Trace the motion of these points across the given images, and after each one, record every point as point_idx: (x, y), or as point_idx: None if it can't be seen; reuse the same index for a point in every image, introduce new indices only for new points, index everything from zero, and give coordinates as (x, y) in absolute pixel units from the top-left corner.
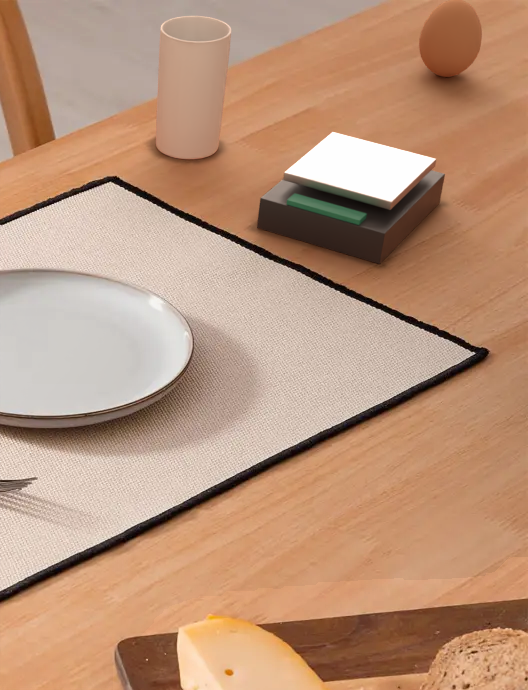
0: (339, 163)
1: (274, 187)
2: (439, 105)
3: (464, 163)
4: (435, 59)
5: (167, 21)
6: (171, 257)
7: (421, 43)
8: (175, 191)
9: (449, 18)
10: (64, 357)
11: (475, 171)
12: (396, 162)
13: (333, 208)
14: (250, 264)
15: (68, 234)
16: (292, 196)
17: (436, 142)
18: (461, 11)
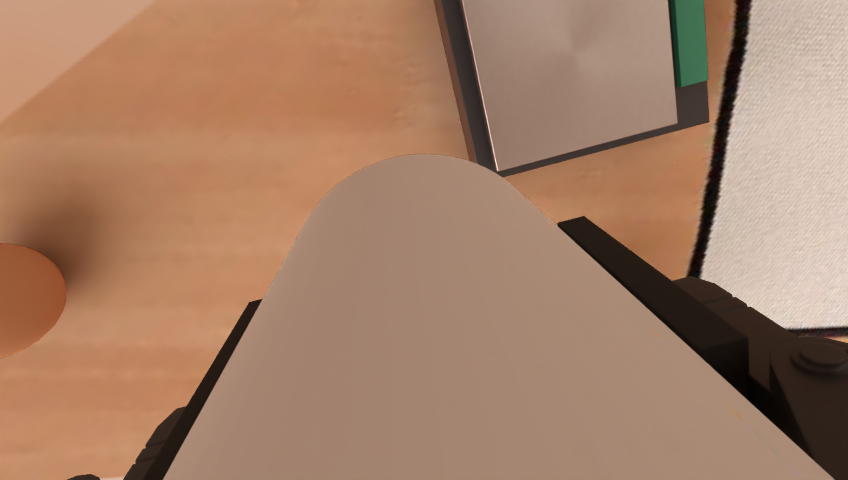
0: (591, 81)
1: (666, 131)
2: (137, 206)
3: (276, 38)
4: (59, 282)
5: None
6: (815, 138)
7: (51, 325)
8: (659, 261)
9: None
10: None
11: (284, 5)
12: (521, 13)
13: (690, 4)
14: (773, 51)
15: (833, 263)
16: (694, 81)
17: (251, 121)
18: None
